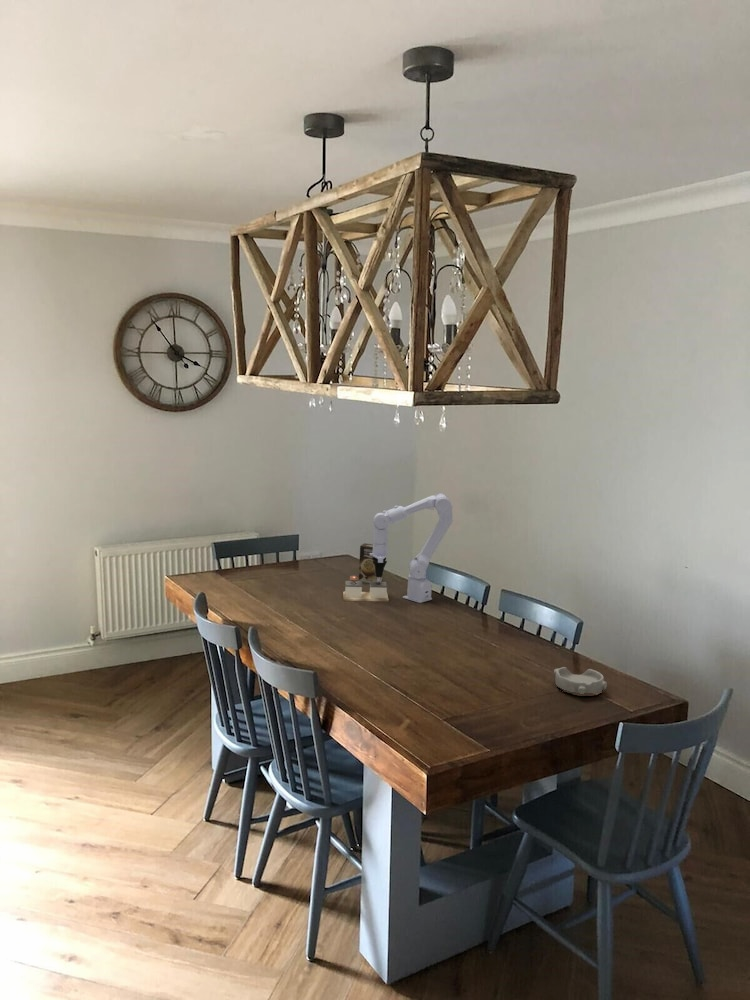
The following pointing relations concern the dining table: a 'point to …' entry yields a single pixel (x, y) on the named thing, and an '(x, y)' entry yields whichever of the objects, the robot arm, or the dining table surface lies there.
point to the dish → (580, 681)
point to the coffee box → (367, 564)
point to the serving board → (364, 598)
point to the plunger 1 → (354, 579)
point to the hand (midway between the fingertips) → (378, 575)
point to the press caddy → (356, 589)
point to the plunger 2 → (378, 578)
